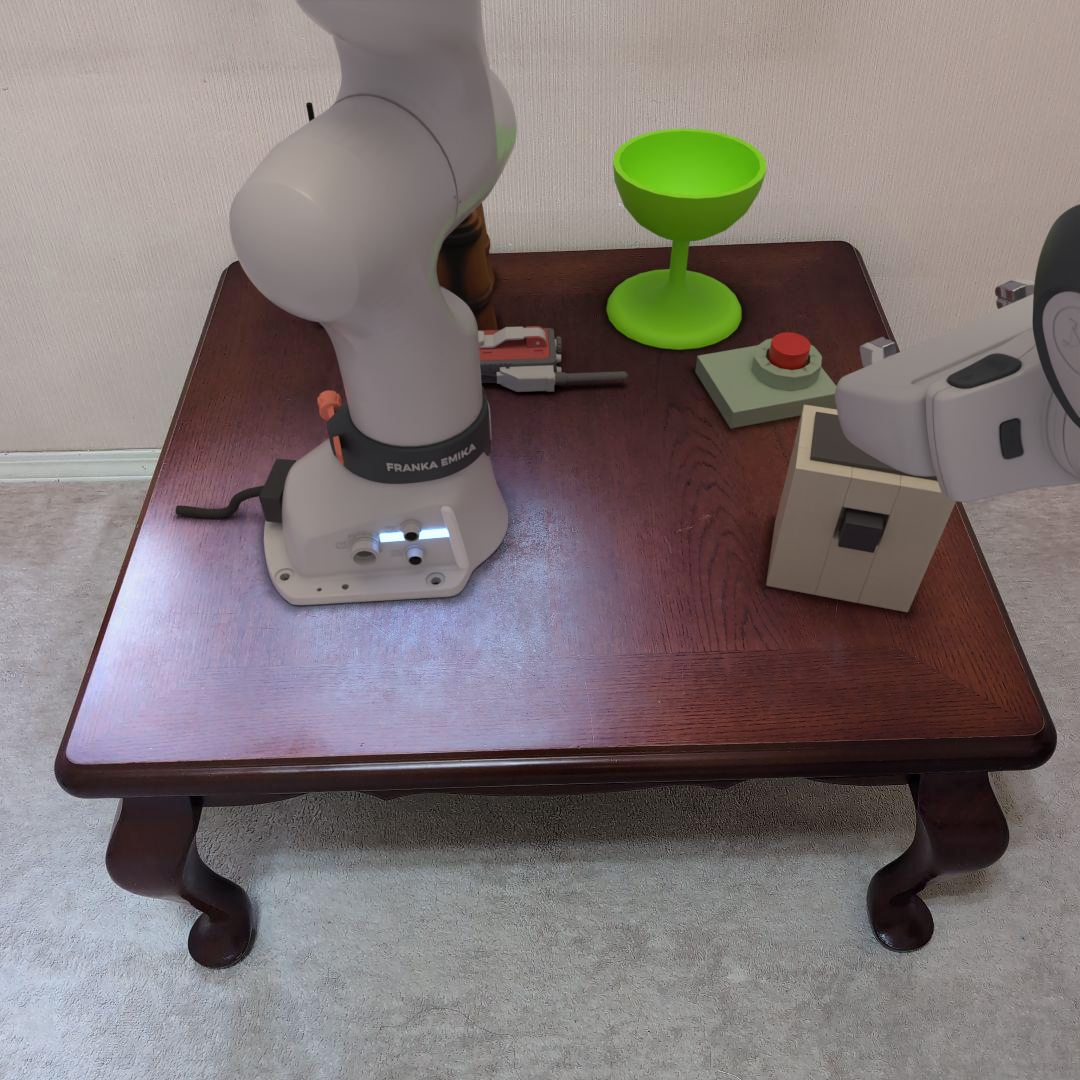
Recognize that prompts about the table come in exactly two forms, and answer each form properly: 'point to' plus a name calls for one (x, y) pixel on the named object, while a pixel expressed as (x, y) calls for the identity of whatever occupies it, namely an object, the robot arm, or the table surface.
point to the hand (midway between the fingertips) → (938, 322)
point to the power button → (860, 530)
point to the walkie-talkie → (528, 360)
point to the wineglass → (682, 231)
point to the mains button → (789, 351)
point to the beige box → (817, 511)
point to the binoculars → (469, 268)
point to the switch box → (762, 385)
